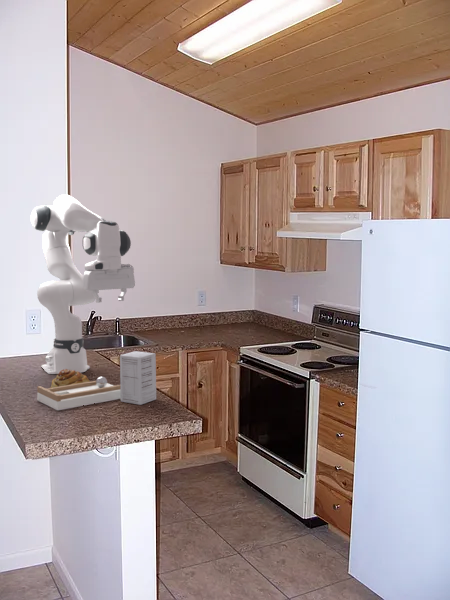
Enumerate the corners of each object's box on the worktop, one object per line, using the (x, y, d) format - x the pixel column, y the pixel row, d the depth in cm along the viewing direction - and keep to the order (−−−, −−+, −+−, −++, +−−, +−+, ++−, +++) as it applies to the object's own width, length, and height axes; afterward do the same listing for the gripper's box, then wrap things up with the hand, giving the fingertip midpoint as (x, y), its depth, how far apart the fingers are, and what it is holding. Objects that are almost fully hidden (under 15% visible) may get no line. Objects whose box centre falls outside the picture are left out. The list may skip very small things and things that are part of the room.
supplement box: (157, 399, 227) (157, 353, 225) (141, 405, 219) (140, 357, 217) (136, 395, 232) (135, 350, 230) (119, 401, 224) (119, 354, 222)
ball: (93, 387, 231) (93, 376, 231) (103, 385, 234) (103, 374, 233) (99, 389, 228) (99, 378, 228) (109, 387, 231) (108, 376, 230)
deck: (37, 400, 224) (37, 386, 223) (102, 389, 241) (102, 376, 240) (57, 410, 212) (57, 395, 211) (124, 397, 228) (124, 384, 228)
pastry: (44, 388, 241) (44, 368, 240) (78, 382, 252) (78, 362, 251) (63, 395, 232) (62, 374, 231) (97, 388, 243) (97, 367, 242)
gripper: (129, 263, 245) (129, 299, 246) (80, 265, 232) (81, 302, 233) (137, 264, 240) (138, 300, 241) (88, 265, 227) (89, 303, 228)
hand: (110, 301), depth 237 cm, fingers open, 8 cm apart
